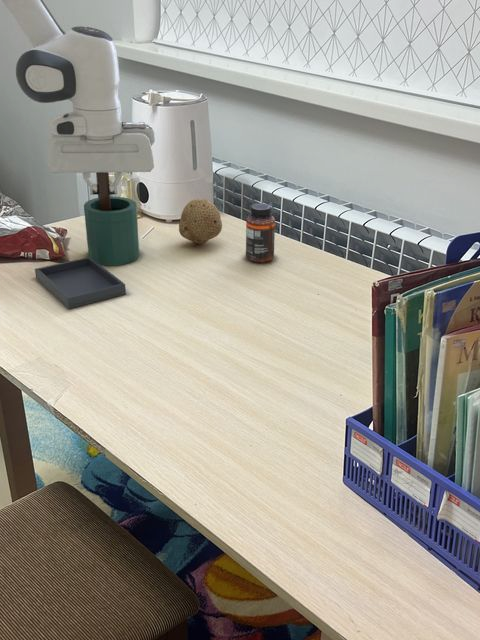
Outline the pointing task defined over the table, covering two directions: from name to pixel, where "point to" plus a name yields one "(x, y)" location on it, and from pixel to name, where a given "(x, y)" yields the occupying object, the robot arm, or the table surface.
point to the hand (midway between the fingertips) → (103, 193)
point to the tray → (80, 282)
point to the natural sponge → (200, 221)
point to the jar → (112, 231)
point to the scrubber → (103, 191)
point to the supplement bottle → (260, 233)
